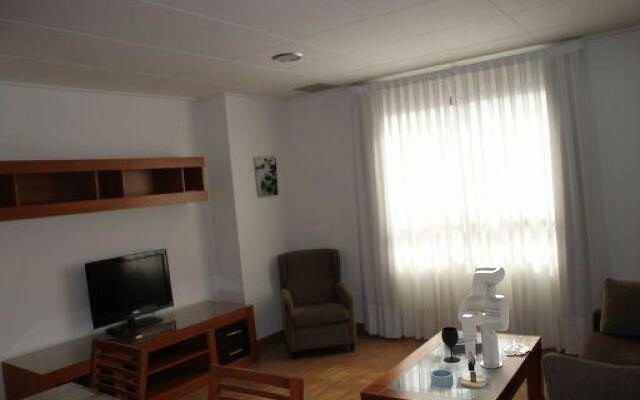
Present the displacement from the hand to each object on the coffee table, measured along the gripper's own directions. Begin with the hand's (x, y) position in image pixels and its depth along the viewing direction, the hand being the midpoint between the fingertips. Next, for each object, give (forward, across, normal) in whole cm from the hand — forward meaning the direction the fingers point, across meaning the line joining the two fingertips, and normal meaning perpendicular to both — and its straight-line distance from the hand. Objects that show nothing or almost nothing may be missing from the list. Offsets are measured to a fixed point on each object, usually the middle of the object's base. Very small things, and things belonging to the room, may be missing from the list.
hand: (472, 367), depth 292 cm
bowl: (+10, 0, -17) cm, 19 cm away
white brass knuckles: (+8, -57, +24) cm, 63 cm away
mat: (+10, -1, 0) cm, 10 cm away
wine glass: (+9, -39, -15) cm, 43 cm away
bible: (+8, -64, -9) cm, 66 cm away
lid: (+9, -1, 0) cm, 9 cm away
